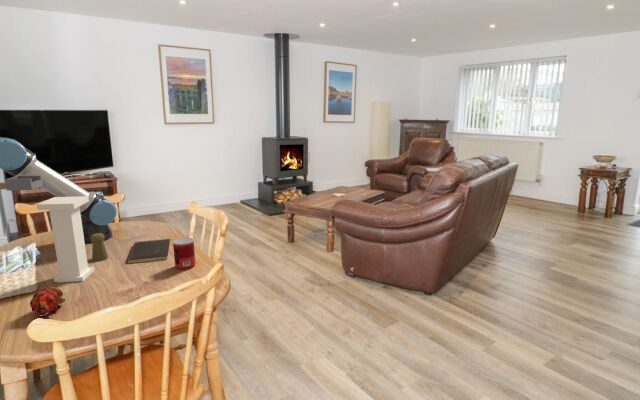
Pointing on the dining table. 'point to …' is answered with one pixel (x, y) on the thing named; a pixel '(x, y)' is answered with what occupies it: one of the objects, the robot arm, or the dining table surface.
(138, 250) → the hardcover book
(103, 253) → the cork
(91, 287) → the dining table surface
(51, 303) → the dragon fruit
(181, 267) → the canned food
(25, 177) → the brown and grey bar
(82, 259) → the stand
